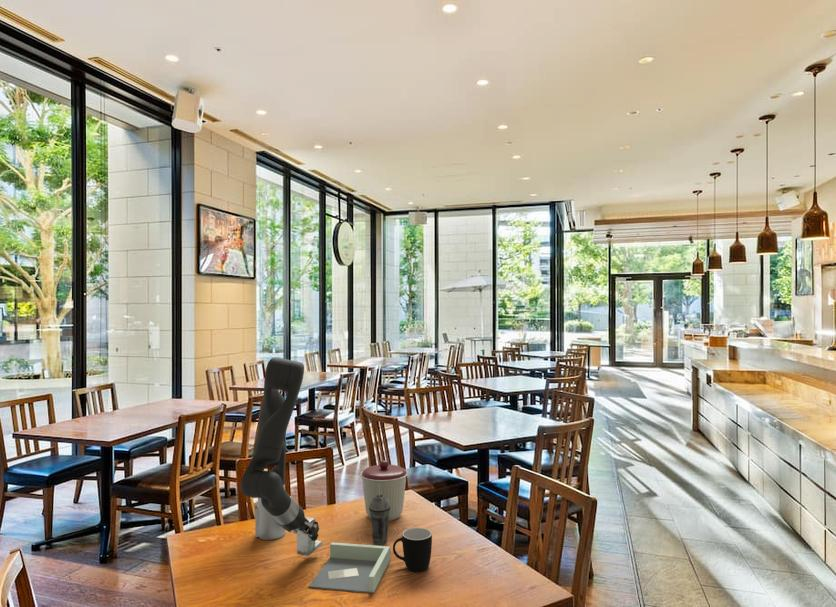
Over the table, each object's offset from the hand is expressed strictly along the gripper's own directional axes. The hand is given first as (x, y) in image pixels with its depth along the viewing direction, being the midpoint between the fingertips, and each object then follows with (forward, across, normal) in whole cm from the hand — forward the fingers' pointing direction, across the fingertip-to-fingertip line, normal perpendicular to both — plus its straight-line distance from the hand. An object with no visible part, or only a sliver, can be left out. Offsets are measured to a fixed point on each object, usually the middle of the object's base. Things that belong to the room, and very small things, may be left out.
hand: (309, 536), depth 164 cm
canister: (+33, -8, -22) cm, 41 cm away
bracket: (+3, 0, +3) cm, 4 cm away
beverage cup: (+18, -16, -8) cm, 25 cm away
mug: (+9, -32, 0) cm, 34 cm away
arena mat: (+2, -17, +8) cm, 19 cm away
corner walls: (+2, -17, +8) cm, 19 cm away
